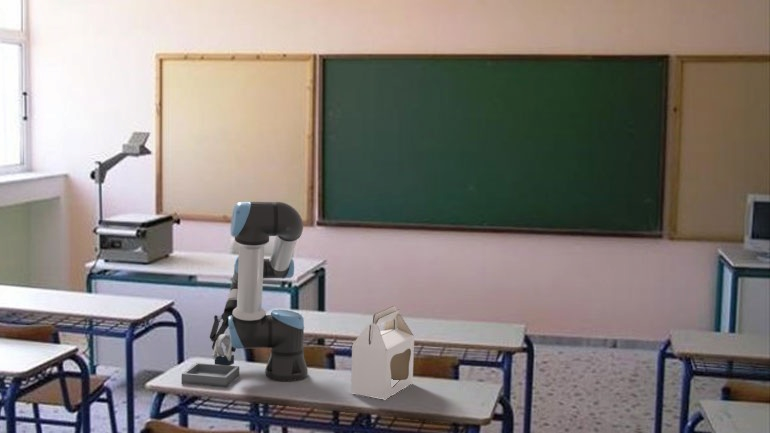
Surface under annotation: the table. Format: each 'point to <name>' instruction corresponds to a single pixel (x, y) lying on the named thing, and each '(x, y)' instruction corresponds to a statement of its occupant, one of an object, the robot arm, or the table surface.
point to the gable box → (382, 356)
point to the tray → (210, 375)
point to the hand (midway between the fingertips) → (221, 358)
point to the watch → (222, 356)
